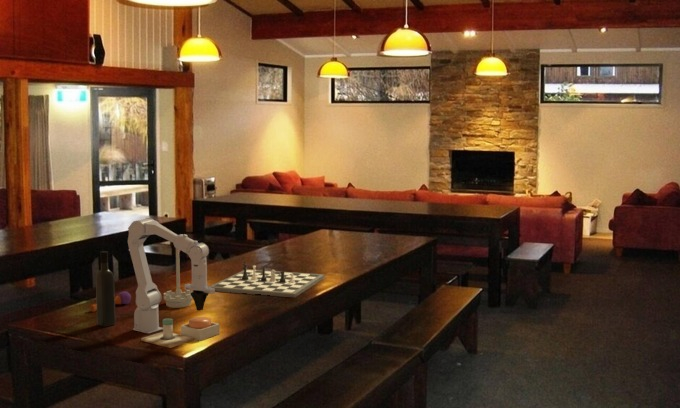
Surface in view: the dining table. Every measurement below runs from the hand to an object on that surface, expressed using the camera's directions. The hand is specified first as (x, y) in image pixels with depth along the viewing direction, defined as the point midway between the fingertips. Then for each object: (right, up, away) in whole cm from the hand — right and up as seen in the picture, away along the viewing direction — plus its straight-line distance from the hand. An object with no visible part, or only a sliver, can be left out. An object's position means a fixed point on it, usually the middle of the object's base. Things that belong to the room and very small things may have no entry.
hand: (199, 309), depth 284 cm
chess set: (+18, -1, +89) cm, 91 cm away
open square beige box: (0, -10, +1) cm, 10 cm away
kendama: (-47, -5, +43) cm, 64 cm away
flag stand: (-19, -5, +48) cm, 51 cm away
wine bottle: (-41, -8, +15) cm, 44 cm away
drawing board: (-11, -11, -6) cm, 16 cm away
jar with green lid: (-11, -10, -6) cm, 16 cm away
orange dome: (0, -7, +1) cm, 7 cm away
